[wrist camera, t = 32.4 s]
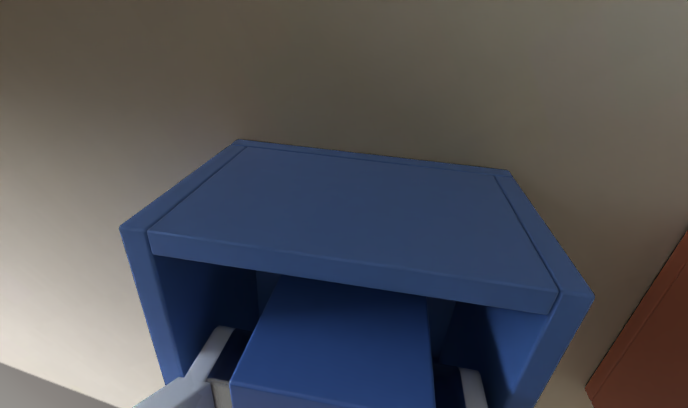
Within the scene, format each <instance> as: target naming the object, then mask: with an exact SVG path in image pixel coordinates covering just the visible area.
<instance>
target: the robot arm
mask: <svg viewBox="0 0 688 408" xmlns="http://www.w3.org/2000/svg"><path fill="white" fill-rule="evenodd" d="M252 333H253V332H252V331H247V330H242V329H237V328H232V327H227V326H221V325H218V326H217V327H216V328H215V329H214V330H213V332H212V333H211V335H210V337H209V338H208V340H207V341H206V343H205V345H204V346H203V348H202V350H201V351H200V353H199V354H198V356H197V358H196V359H195V361H194V362H193V364H192V366H191V367H190V369H189V371H188V372H187V374H186V375H185V377H184V378H183V377H178V378H176V379H175V380H173V381H172V382H170V383H169V384H167V385H166V386H164V387H163V388H161V389H160V390H158V391H157V392H155V393H154V394H152V395H151V396H149V397H147V398H146V399H144V400H143V401H141V402H140V403H138V404H137V405H135V406H134V407H132V408H232V401H231V394H230V388H229V381H230V379H231V377H232V375H233V372H234V370H235V368H236V366H237V364H238V362H239V360H240V358H241V356H242V354H243V352H244V350H245V348H246V346H247V344H248V341H249V339H250V337H251V335H252ZM432 366H433V378H434V390H435V403H436V408H488V405H487V400H486V396H485V391H484V387H483V382H482V378H481V374H480V373H479V371H478V370H473V369H467V368H460V367H457V366H452V365H445V364H439V363H433V362H432Z"/></svg>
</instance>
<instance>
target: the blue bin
mask: <svg viewBox="0 0 688 408" xmlns="http://www.w3.org/2000/svg"><path fill="white" fill-rule="evenodd" d="M119 231H120V234H121V238H122V241H123V244H124V248H125V251H126V254H127V258H128V261H129V264H130V268H131V271H132V274H133V278H134V281H135V285H136V288H137V291H138V295H139V298H140V301H141V305H142V308H143V311H144V315H145V318H146V322H147V325H148V328H149V332H150V335H151V338H152V342H153V345H154V348H155V352H156V355H157V359H158V362H159V365H160V369H161V372H162V375H163V379H164V382H165V385H167V384H169V383H170V382H172V381H173V380H175V379H176V378H178V377H183V378H184V377H185V375H186V374H187V372H188V371H189V369H190V367H191V366H192V364H193V362H194V361H195V359H196V358H197V356H198V354H199V353H200V351H201V350H202V348H203V346H204V345H205V343H206V341H207V340H208V338H209V337H210V335H211V333H212V332H213V330H214V329H215V328H216V327H217V326H218V325H221V326H227V327H232V328H237V329H242V330H247V331H252V332H253V331H254V329H255V327H256V325H257V323H258V321H259V319H260V317H261V315H262V313H263V310H264V308H265V306H266V304H267V302H268V300H269V298H270V296H271V294H272V292H273V290H274V288H275V286H276V284H277V282H278V279H279V277H280V275H281V274H282V275H289V276H295V277H302V278H309V279H315V280H322V281H328V282H335V283H341V284H348V285H354V286H361V287H367V288H374V289H380V290H387V291H393V292H400V293H406V294H413V295H419V296H426V297H427V304H428V316H429V328H430V341H431V353H432V362H433V363H439V364H445V365H452V366H457V367H460V368H467V369H473V370H478V371H479V373H480V374H481V378H482V382H483V387H484V391H485V396H486V400H487V405H488V408H534V406H535V405H536V403H537V401H538V399H539V397H540V396H541V394H542V392H543V390H544V388H545V387H546V385H547V383H548V381H549V380H550V378H551V376H552V374H553V372H554V371H555V369H556V367H557V365H558V364H559V362H560V360H561V358H562V356H563V355H564V353H565V351H566V349H567V348H568V346H569V344H570V342H571V340H572V339H573V337H574V335H575V333H576V332H577V330H578V328H579V326H580V324H581V323H582V321H583V319H584V317H585V315H586V314H587V312H588V310H589V308H590V307H591V305H592V303H593V301H594V299H595V295H594V293H593V292H592V290H591V289H590V287H589V286H588V284H587V283H586V282H585V280H584V279H583V277H582V276H581V274H580V273H579V271H578V270H577V269H576V267H575V266H574V264H573V263H572V261H571V260H570V258H569V257H568V256H567V254H566V253H565V251H564V250H563V248H562V247H561V245H560V244H559V243H558V241H557V240H556V238H555V237H554V235H553V234H552V232H551V231H550V230H549V228H548V227H547V225H546V224H545V222H544V221H543V219H542V218H541V217H540V215H539V214H538V212H537V211H536V209H535V208H534V206H533V205H532V204H531V202H530V201H529V199H528V198H527V196H526V195H525V193H524V192H523V191H522V189H521V188H520V186H519V185H518V183H517V182H516V180H515V179H514V178H513V176H512V175H511V173H510V172H509V171H508V170H502V169H494V168H485V167H476V166H467V165H459V164H450V163H441V162H432V161H424V160H415V159H406V158H398V157H389V156H380V155H371V154H363V153H354V152H345V151H337V150H328V149H319V148H310V147H302V146H293V145H284V144H276V143H267V142H258V141H249V140H241V139H238V140H236V141H234V142H233V143H232V144H231V145H229V146H228V147H226V148H225V149H224V150H222V151H221V152H220V153H218V154H217V155H215V156H214V157H213V158H211V159H210V160H209V161H207V162H206V163H205V164H203V165H202V166H200V167H199V168H198V169H196V170H195V171H194V172H192V173H191V174H190V175H188V176H187V177H185V178H184V179H183V180H181V181H180V182H179V183H177V184H176V185H175V186H173V187H172V188H171V189H169V190H168V191H166V192H165V193H164V194H162V195H161V196H160V197H158V198H157V199H156V200H154V201H153V202H151V203H150V204H149V205H147V206H146V207H145V208H143V209H142V210H141V211H139V212H138V213H136V214H135V215H134V216H132V217H131V218H130V219H128V220H127V221H126V222H124V223H123V224H122V225H120V227H119Z"/></svg>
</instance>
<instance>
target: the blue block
mask: <svg viewBox="0 0 688 408" xmlns="http://www.w3.org/2000/svg"><path fill="white" fill-rule="evenodd" d="M229 388H230V394H231V401H232V408H436V403H435V390H434V378H433V366H432V353H431V341H430V328H429V316H428V304H427V297H426V296H419V295H413V294H406V293H400V292H393V291H387V290H380V289H374V288H367V287H361V286H354V285H348V284H341V283H335V282H328V281H322V280H315V279H309V278H302V277H295V276H289V275H282V274H281V275H280V277H279V279H278V282H277V284H276V286H275V288H274V290H273V292H272V294H271V296H270V298H269V300H268V302H267V304H266V306H265V308H264V310H263V313H262V315H261V317H260V319H259V321H258V323H257V325H256V327H255V329H254V331H253V333H252V335H251V337H250V339H249V341H248V344H247V346H246V348H245V350H244V352H243V354H242V356H241V358H240V360H239V362H238V364H237V366H236V368H235V370H234V372H233V375H232V377H231V379H230V381H229Z"/></svg>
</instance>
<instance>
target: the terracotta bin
mask: <svg viewBox="0 0 688 408" xmlns="http://www.w3.org/2000/svg"><path fill="white" fill-rule="evenodd" d="M585 391H586V393H587V395H588V397H589V399H590V400H591V401H592V405H593V407H594V408H688V230H687V232H686V233H685V235H684V236H683V238H682V239H681V241H680V242H679V244H678V246H677V247H676V249H675V250H674V252H673V253H672V255H671V256H670V258H669V259H668V261H667V262H666V264H665V265H664V267H663V269H662V270H661V272H660V273H659V275H658V276H657V278H656V279H655V281H654V282H653V284H652V285H651V287H650V288H649V290H648V292H647V293H646V295H645V296H644V298H643V299H642V301H641V302H640V304H639V305H638V307H637V308H636V310H635V311H634V313H633V315H632V316H631V318H630V319H629V321H628V322H627V324H626V325H625V327H624V328H623V330H622V331H621V333H620V334H619V336H618V338H617V339H616V341H615V342H614V344H613V345H612V347H611V348H610V350H609V351H608V353H607V354H606V356H605V358H604V359H603V361H602V362H601V364H600V365H599V367H598V368H597V370H596V371H595V373H594V374H593V376H592V377H591V379H590V381H589V382H588V384H587V385H586V387H585Z"/></svg>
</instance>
